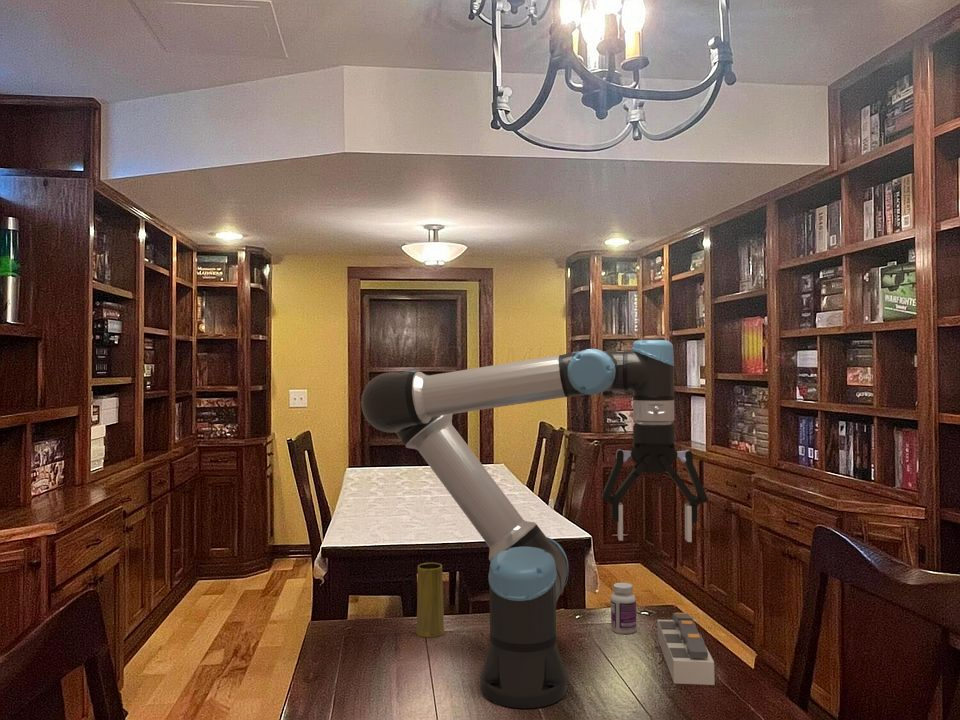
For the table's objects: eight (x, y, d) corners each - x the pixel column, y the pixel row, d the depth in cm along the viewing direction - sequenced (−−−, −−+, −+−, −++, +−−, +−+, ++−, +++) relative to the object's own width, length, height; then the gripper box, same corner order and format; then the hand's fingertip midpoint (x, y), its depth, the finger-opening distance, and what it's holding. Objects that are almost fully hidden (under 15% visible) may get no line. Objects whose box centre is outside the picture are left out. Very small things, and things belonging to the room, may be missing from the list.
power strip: (674, 683, 128) (673, 656, 128) (657, 638, 149) (657, 616, 149) (714, 685, 127) (714, 658, 127) (692, 640, 148) (692, 617, 148)
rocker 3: (690, 657, 128) (690, 650, 128) (684, 639, 134) (684, 632, 134) (707, 658, 128) (707, 651, 128) (701, 639, 134) (701, 633, 133)
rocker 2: (683, 642, 135) (683, 636, 135) (678, 625, 141) (678, 619, 141) (699, 643, 135) (700, 636, 134) (693, 626, 141) (694, 620, 140)
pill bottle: (640, 628, 155) (639, 583, 155) (631, 636, 150) (630, 590, 150) (616, 624, 157) (615, 579, 158) (607, 631, 153) (606, 586, 153)
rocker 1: (677, 624, 142) (677, 617, 142) (672, 619, 148) (672, 612, 148) (693, 624, 141) (692, 617, 142) (687, 619, 147) (687, 612, 148)
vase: (413, 629, 155) (412, 563, 155) (440, 626, 157) (440, 560, 157) (419, 639, 149) (419, 570, 150) (448, 636, 151) (447, 568, 151)
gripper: (589, 424, 131) (589, 543, 131) (724, 424, 129) (725, 546, 129) (587, 421, 139) (588, 533, 139) (715, 421, 136) (716, 536, 136)
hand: (654, 539), depth 134 cm, fingers open, 12 cm apart
